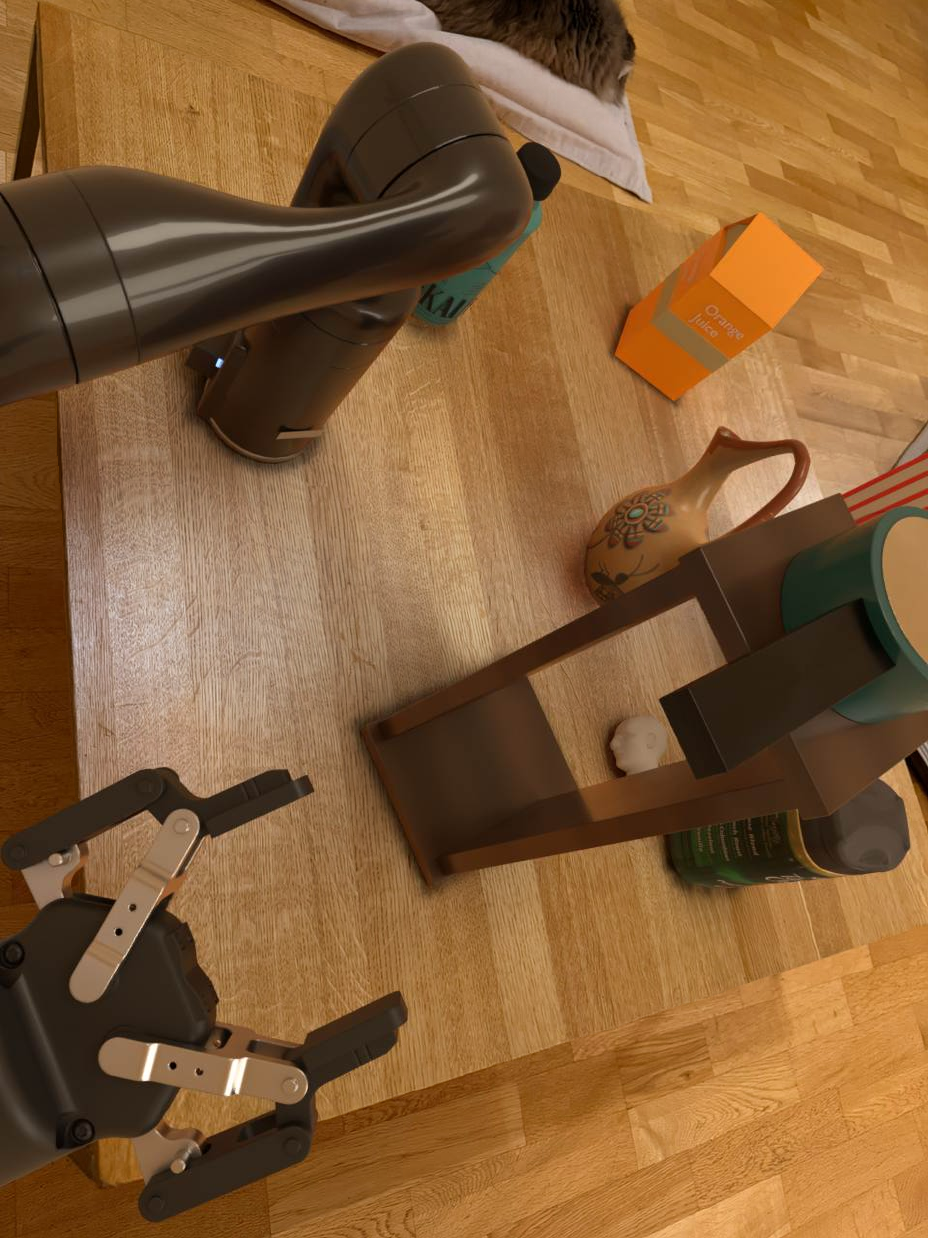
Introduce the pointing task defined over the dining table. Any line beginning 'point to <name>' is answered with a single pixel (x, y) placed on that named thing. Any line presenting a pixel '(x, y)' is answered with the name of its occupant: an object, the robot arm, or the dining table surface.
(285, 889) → the dining table surface
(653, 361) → the orange juice
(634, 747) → the smooth white sculpture
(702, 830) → the coffee jar
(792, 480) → the ceramic vessel
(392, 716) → the shelf stand
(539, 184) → the beverage bottle
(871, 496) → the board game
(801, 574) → the milk pan
